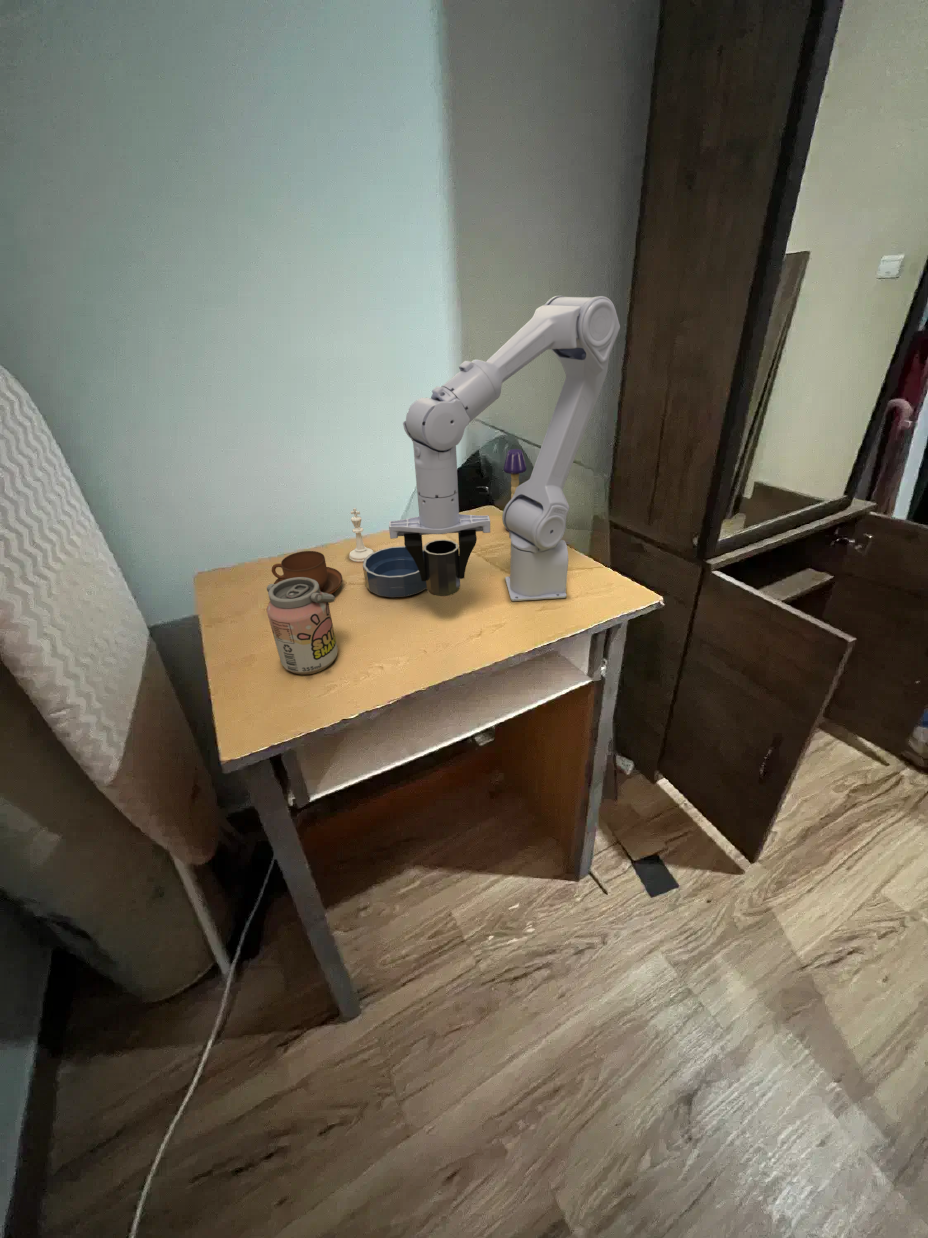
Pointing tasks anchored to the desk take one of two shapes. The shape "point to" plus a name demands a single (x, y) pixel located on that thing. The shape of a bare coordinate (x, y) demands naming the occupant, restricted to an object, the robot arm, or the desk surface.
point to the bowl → (392, 573)
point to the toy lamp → (514, 467)
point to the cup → (442, 567)
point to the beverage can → (302, 625)
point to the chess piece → (358, 540)
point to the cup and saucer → (309, 570)
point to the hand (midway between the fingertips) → (443, 576)
